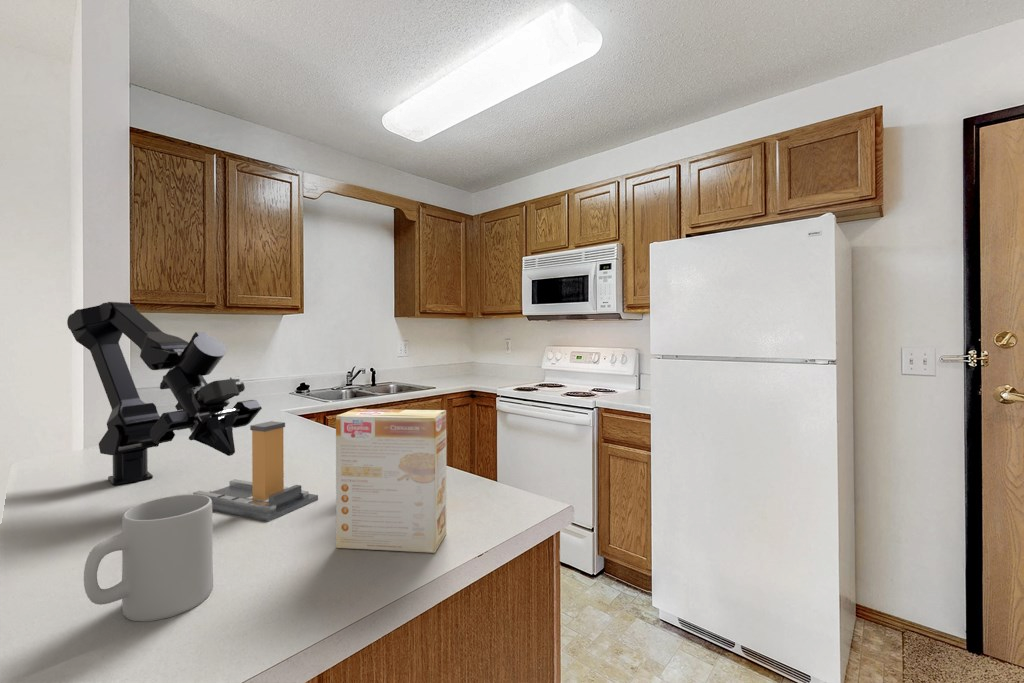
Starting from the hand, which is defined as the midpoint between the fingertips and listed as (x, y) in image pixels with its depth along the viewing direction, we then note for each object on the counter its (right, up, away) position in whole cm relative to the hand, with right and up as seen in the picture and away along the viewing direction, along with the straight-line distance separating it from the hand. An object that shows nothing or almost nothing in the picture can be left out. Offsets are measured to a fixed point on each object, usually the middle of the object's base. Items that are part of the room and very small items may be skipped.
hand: (232, 454), depth 87 cm
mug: (+12, -9, -34) cm, 38 cm away
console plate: (+5, -8, -2) cm, 10 cm away
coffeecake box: (+35, -9, -17) cm, 40 cm away
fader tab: (+9, -8, -3) cm, 12 cm away
